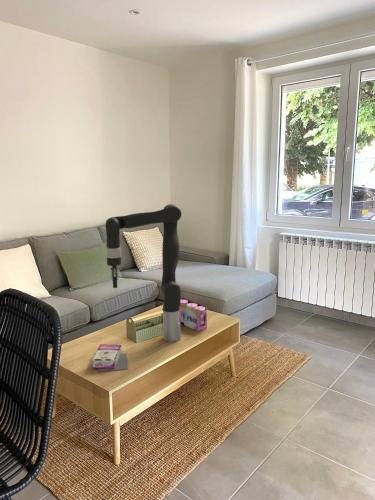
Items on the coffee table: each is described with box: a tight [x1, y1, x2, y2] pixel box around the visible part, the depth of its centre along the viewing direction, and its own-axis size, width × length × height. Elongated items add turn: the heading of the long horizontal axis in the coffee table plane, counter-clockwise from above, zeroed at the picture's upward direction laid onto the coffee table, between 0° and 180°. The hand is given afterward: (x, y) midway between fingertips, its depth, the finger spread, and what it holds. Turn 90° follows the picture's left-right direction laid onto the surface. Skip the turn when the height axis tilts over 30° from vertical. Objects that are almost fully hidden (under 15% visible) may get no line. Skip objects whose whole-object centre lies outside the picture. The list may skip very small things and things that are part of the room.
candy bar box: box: [91, 344, 122, 369], centre depth 193 cm, size 11×5×16 cm
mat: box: [97, 352, 129, 373], centre depth 192 cm, size 14×16×1 cm
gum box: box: [179, 297, 208, 332], centre depth 238 cm, size 24×8×14 cm, turn 40°
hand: (115, 287), depth 207 cm, fingers closed
